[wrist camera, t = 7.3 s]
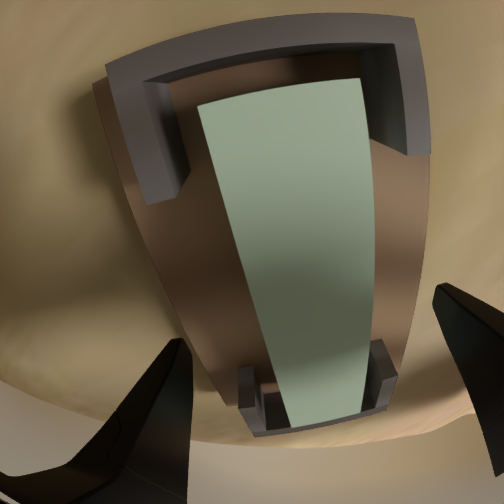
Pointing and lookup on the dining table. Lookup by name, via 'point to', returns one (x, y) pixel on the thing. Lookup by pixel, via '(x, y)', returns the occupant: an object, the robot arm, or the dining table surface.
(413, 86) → the frame
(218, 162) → the slat
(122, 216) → the dining table surface
